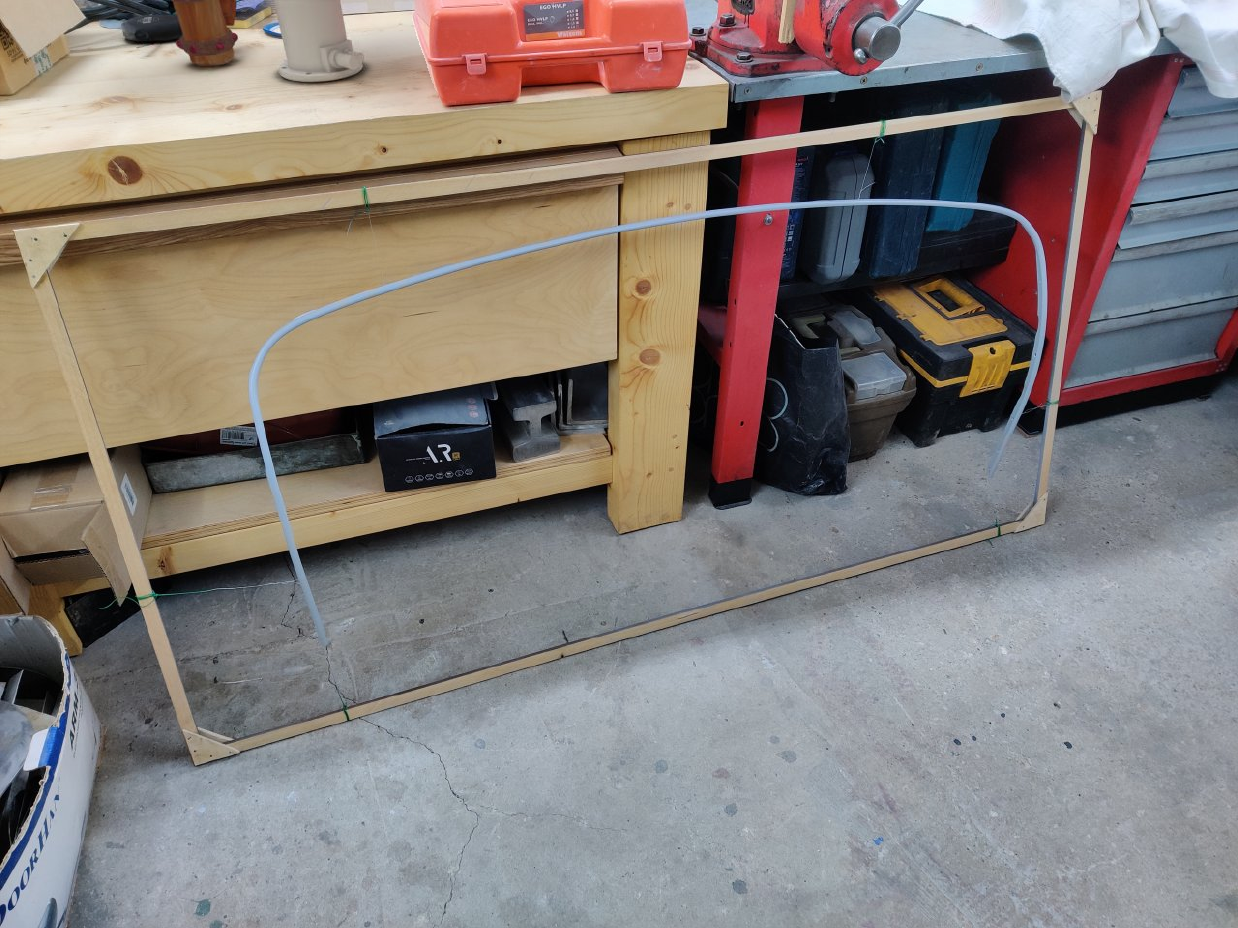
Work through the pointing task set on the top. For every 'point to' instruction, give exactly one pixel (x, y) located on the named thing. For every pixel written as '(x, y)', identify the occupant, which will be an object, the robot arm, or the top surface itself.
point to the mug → (207, 30)
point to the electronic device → (152, 28)
